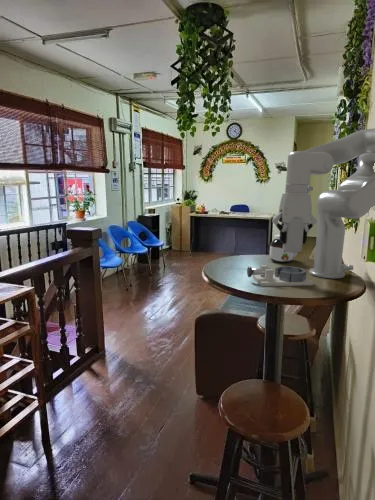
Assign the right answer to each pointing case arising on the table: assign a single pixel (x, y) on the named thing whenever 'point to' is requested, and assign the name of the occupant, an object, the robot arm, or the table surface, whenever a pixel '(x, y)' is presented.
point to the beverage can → (294, 236)
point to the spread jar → (280, 252)
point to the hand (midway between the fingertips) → (292, 242)
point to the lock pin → (255, 271)
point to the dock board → (276, 279)
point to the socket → (290, 273)
